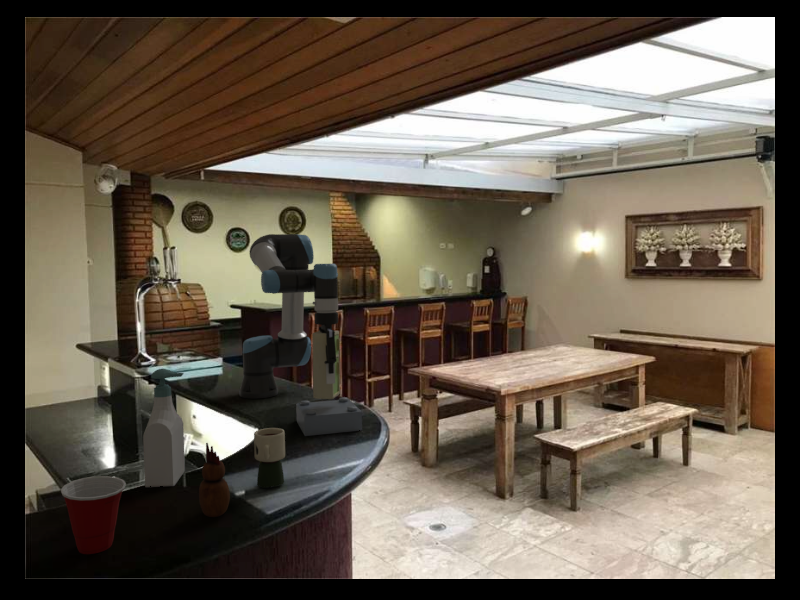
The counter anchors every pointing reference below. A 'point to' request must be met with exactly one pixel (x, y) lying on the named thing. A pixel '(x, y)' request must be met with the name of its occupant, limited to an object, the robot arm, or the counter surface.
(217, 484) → the wooden figurine
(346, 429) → the base brick
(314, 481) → the counter surface
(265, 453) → the character mug
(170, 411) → the white spray bottle
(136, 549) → the counter surface
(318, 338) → the toy refrigerator
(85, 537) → the plastic cup
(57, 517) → the counter surface
